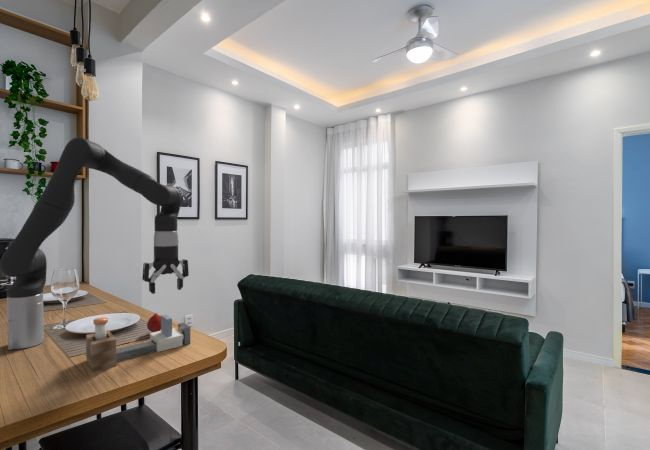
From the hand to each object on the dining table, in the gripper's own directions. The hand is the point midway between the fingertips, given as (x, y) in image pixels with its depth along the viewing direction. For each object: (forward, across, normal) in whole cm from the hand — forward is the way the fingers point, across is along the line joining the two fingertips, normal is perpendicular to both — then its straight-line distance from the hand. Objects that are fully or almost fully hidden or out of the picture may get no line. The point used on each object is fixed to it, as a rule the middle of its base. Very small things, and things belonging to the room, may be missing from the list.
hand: (166, 291), depth 114 cm
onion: (+19, -1, -15) cm, 24 cm away
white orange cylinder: (+14, +19, 0) cm, 23 cm away
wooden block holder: (+19, +19, 0) cm, 27 cm away
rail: (+19, +6, 0) cm, 20 cm away
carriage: (+19, 0, 0) cm, 19 cm away
